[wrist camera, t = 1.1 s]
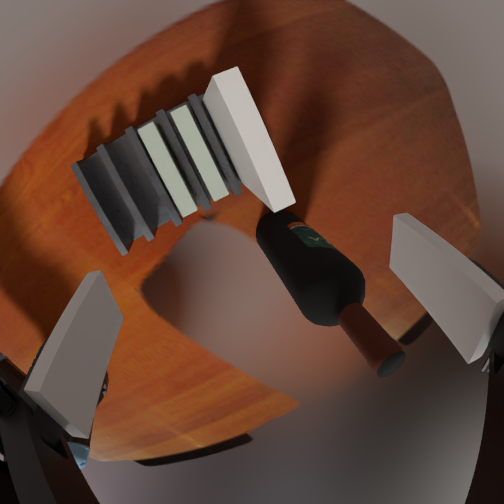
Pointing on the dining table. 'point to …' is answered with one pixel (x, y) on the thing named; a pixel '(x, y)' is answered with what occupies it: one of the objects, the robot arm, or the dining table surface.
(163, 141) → the offcut
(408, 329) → the dining table surface
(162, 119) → the rack
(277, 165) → the tall sheet
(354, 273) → the wine bottle
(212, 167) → the offcut
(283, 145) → the dining table surface
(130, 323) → the dining table surface
